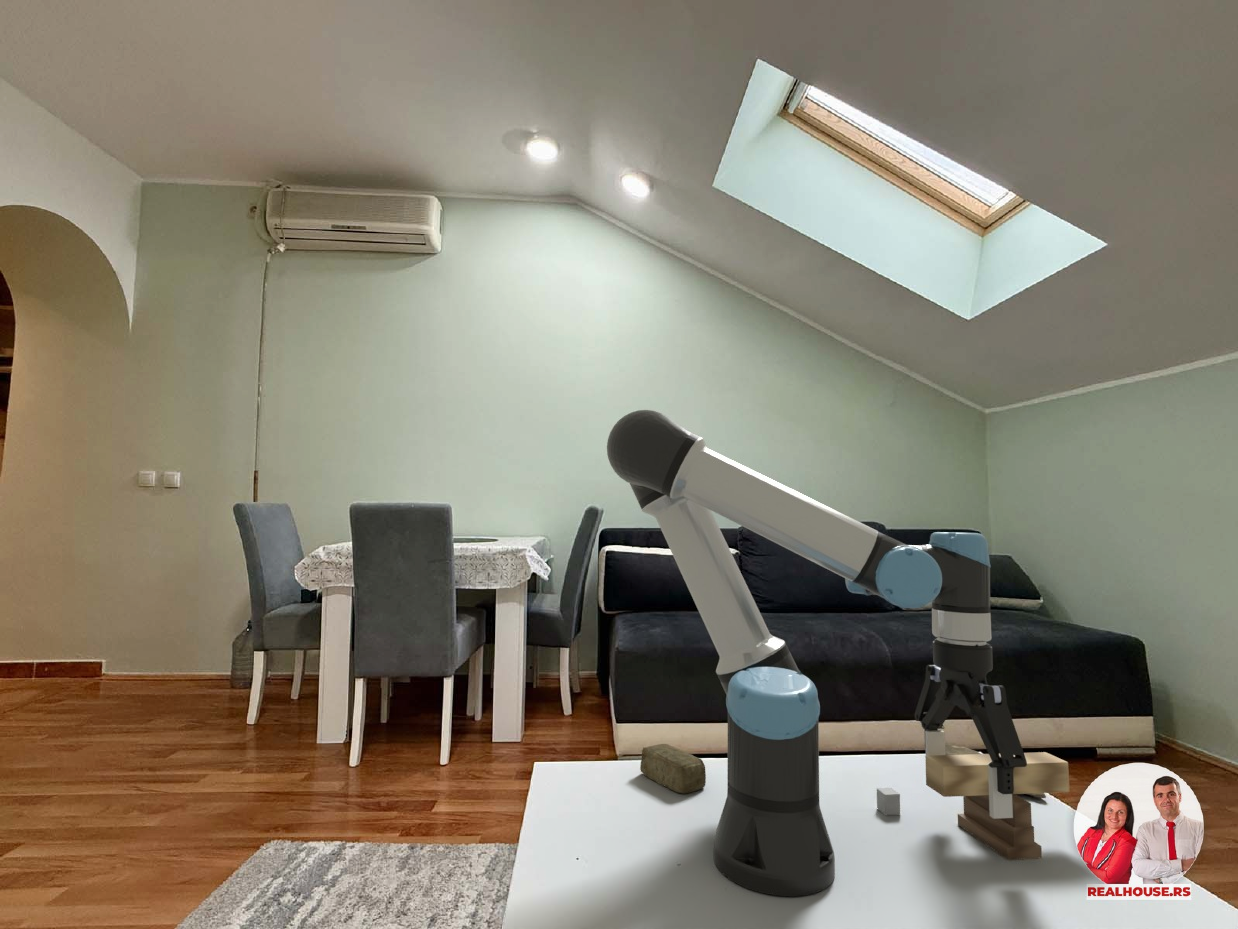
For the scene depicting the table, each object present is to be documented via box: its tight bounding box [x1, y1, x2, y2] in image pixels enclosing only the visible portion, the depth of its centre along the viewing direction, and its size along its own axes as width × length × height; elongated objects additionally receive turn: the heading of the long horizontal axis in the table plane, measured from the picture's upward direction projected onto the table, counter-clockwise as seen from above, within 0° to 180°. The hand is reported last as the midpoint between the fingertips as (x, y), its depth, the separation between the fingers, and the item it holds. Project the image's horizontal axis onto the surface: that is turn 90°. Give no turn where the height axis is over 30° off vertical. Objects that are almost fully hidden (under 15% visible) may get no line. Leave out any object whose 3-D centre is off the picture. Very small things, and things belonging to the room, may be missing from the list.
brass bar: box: [925, 751, 1070, 798], centre depth 90 cm, size 19×4×4 cm, turn 97°
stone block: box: [639, 743, 707, 795], centre depth 108 cm, size 6×12×5 cm, turn 37°
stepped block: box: [957, 794, 1043, 861], centre depth 90 cm, size 5×10×7 cm, turn 8°
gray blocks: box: [876, 787, 901, 816], centre depth 99 cm, size 17×2×3 cm, turn 97°
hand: (966, 795), depth 89 cm, fingers open, 13 cm apart
